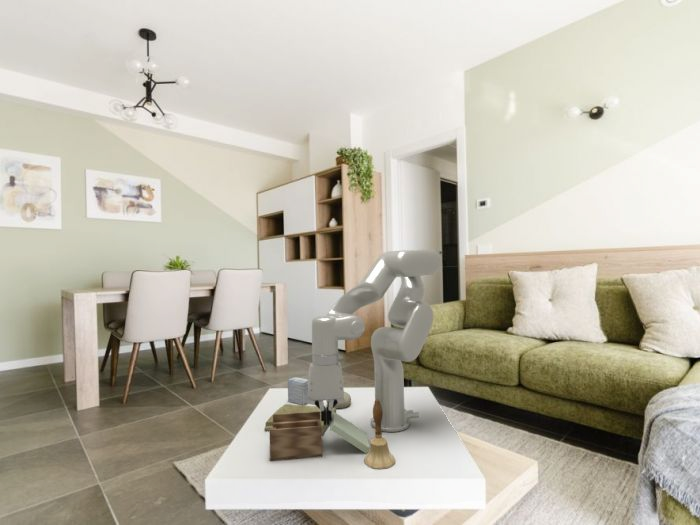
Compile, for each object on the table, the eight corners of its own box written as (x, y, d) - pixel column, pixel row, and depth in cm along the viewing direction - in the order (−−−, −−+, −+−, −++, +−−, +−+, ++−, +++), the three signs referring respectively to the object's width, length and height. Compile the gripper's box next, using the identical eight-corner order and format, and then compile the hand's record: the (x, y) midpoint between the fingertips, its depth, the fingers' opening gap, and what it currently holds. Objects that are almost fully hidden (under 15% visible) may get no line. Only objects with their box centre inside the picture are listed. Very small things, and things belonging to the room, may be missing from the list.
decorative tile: (283, 412, 134) (283, 402, 134) (336, 415, 129) (336, 405, 129) (260, 434, 115) (260, 423, 115) (321, 439, 111) (321, 427, 111)
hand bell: (362, 468, 94) (361, 405, 94) (365, 452, 102) (364, 394, 102) (395, 470, 92) (393, 406, 93) (395, 453, 101) (394, 395, 101)
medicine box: (310, 401, 142) (310, 379, 142) (303, 405, 138) (303, 382, 138) (295, 398, 146) (294, 376, 146) (287, 402, 142) (287, 379, 142)
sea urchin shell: (321, 398, 140) (334, 381, 142) (335, 410, 142) (348, 394, 144) (329, 406, 132) (343, 388, 134) (343, 419, 134) (357, 401, 136)
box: (320, 438, 111) (320, 411, 111) (322, 456, 100) (321, 426, 100) (273, 442, 109) (273, 414, 109) (270, 461, 98) (269, 430, 98)
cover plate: (362, 438, 110) (366, 432, 110) (366, 453, 101) (369, 448, 101) (330, 416, 110) (333, 411, 110) (330, 429, 101) (333, 424, 101)
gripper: (349, 355, 111) (350, 416, 110) (299, 357, 109) (300, 419, 108) (352, 361, 103) (353, 426, 103) (299, 363, 101) (300, 430, 101)
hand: (326, 423), depth 105 cm, fingers closed
